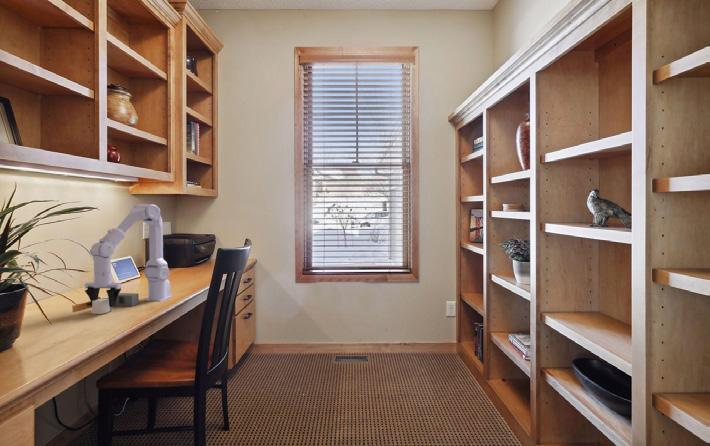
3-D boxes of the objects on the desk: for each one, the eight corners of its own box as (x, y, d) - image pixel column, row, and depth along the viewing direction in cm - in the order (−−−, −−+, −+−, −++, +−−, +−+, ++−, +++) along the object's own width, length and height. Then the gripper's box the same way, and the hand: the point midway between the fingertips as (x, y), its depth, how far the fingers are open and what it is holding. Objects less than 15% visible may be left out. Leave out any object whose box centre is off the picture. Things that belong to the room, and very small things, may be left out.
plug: (105, 309, 162) (105, 296, 162) (115, 309, 162) (115, 297, 161) (92, 313, 155) (91, 300, 155) (102, 314, 155) (101, 301, 154)
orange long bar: (100, 305, 164) (99, 296, 164) (102, 305, 163) (102, 296, 163) (72, 313, 152) (71, 303, 152) (74, 313, 152) (74, 303, 151)
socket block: (116, 303, 173) (115, 292, 173) (138, 304, 172) (138, 293, 171) (96, 309, 162) (96, 298, 162) (120, 310, 161) (120, 299, 160)
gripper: (78, 273, 155) (79, 308, 155) (111, 274, 153) (112, 309, 153) (92, 271, 162) (93, 303, 162) (124, 271, 160) (125, 304, 160)
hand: (103, 306), depth 158 cm, fingers open, 7 cm apart
